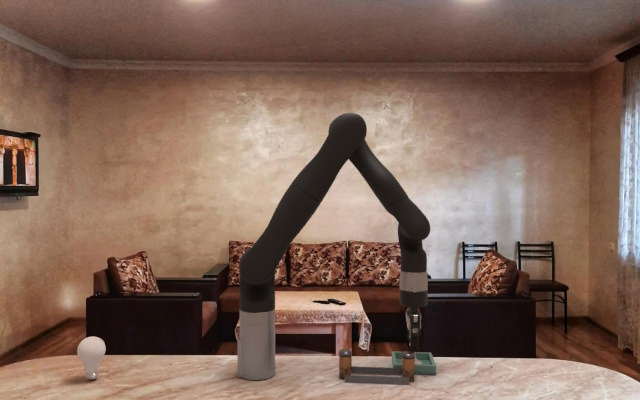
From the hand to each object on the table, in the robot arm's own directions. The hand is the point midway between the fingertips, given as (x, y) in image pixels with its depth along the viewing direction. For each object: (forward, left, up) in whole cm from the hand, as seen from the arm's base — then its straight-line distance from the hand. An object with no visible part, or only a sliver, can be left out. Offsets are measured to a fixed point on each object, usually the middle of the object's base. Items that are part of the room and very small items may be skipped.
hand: (413, 346), depth 142 cm
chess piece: (0, 0, -5) cm, 5 cm away
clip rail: (-10, -10, -6) cm, 15 cm away
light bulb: (-82, -18, -6) cm, 84 cm away
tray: (0, 0, -6) cm, 6 cm away
